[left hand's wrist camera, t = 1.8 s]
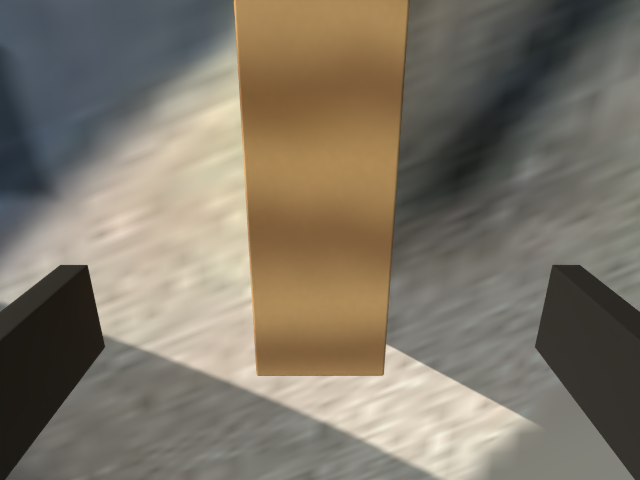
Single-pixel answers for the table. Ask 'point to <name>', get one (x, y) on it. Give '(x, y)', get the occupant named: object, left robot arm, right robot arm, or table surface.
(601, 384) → the left robot arm
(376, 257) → the post
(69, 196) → the table surface
